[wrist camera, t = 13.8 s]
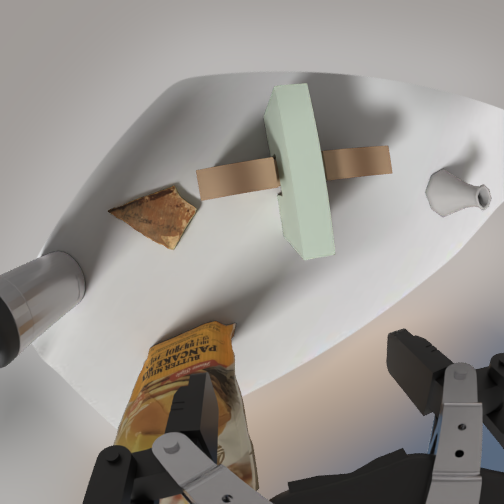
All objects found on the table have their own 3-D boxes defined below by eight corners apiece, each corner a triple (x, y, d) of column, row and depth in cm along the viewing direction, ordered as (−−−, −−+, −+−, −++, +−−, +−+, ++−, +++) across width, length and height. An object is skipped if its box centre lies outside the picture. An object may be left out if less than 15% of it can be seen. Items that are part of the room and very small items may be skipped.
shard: (111, 210, 38) (106, 211, 37) (137, 162, 37) (132, 161, 35) (174, 250, 40) (171, 253, 38) (202, 202, 39) (201, 203, 37)
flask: (417, 191, 39) (459, 195, 29) (441, 160, 38) (483, 158, 28) (441, 225, 40) (482, 236, 30) (463, 194, 39) (505, 199, 29)
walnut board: (211, 197, 38) (201, 200, 28) (207, 174, 37) (195, 170, 28) (358, 175, 38) (392, 173, 28) (354, 153, 37) (388, 145, 28)
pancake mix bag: (258, 342, 43) (279, 512, 16) (154, 383, 44) (103, 525, 17) (237, 305, 41) (236, 476, 14) (130, 352, 43) (55, 490, 15)
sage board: (263, 117, 36) (274, 86, 23) (285, 114, 36) (306, 83, 23) (283, 236, 40) (304, 260, 27) (305, 232, 40) (335, 254, 27)
